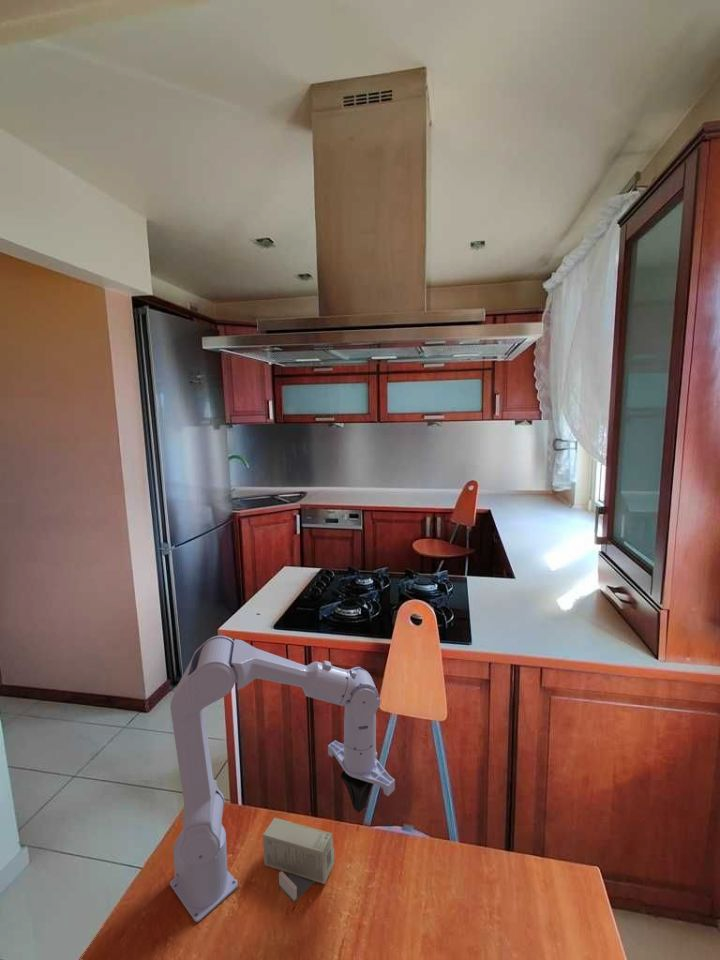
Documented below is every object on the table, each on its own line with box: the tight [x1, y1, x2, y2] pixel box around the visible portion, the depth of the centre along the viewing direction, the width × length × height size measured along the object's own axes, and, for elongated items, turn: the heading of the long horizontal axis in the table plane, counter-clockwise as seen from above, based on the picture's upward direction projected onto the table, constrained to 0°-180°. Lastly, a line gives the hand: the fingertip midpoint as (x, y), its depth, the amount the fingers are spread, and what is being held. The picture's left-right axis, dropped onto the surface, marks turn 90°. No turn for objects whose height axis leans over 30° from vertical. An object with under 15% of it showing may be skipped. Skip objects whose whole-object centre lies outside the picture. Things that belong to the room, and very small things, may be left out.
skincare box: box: [262, 817, 335, 885], centre depth 82 cm, size 6×4×12 cm
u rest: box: [278, 847, 336, 903], centre depth 81 cm, size 4×10×3 cm, turn 138°
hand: (359, 807), depth 83 cm, fingers closed
